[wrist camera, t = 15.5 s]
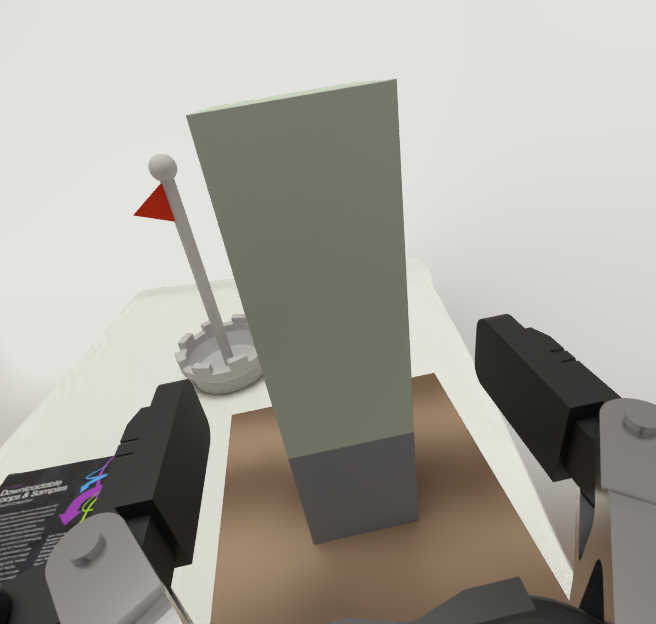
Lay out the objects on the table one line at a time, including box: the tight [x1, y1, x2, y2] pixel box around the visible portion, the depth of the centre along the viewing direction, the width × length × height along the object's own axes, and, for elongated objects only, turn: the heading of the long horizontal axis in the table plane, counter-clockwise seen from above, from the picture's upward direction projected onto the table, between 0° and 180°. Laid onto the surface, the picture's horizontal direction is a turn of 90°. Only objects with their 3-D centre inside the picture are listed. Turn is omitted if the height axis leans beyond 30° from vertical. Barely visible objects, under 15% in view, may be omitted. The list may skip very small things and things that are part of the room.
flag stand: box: [134, 154, 263, 394], centre depth 50 cm, size 13×13×30 cm
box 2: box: [186, 79, 418, 545], centre depth 16 cm, size 5×5×18 cm
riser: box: [210, 373, 570, 624], centre depth 25 cm, size 14×14×16 cm
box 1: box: [0, 456, 115, 584], centre depth 36 cm, size 14×4×20 cm
